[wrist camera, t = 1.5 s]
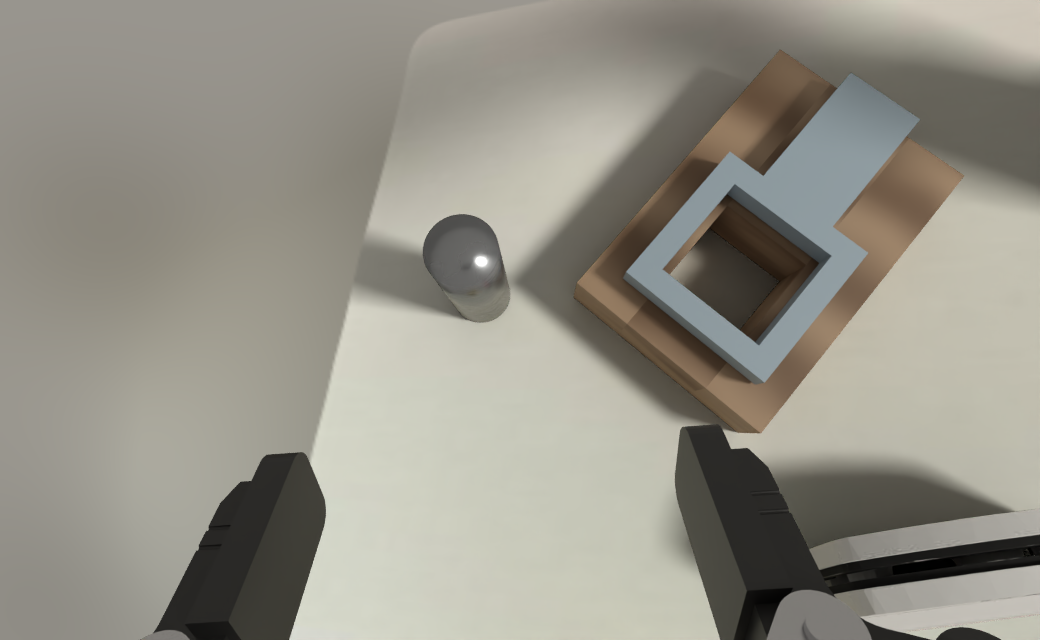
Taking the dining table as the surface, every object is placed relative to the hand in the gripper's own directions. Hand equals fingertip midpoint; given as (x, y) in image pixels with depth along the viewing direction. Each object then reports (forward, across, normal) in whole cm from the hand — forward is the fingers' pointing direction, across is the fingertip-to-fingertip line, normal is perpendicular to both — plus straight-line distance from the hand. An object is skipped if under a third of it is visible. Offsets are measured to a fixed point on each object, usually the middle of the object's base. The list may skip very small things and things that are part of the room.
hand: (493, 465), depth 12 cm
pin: (+25, +2, +11) cm, 28 cm away
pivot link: (+24, -17, +6) cm, 30 cm away
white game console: (+12, -24, +25) cm, 36 cm away
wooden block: (+27, -16, +10) cm, 33 cm away
